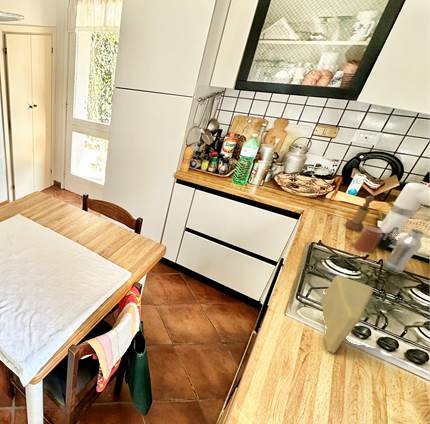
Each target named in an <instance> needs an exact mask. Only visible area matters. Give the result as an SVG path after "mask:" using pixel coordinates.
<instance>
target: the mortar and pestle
mask: <svg viewBox="0 0 430 424" xmlns="http://www.w3.org/2000/svg"><path fill="white" fill-rule="evenodd" d="M364 201H365V203H363V204H362V206H359V207H358V209H357V211H356V212H355V213H354V216H353V217H352V219H350V220H347V221H346V223H345V224H344V225H345V227H346V228H347V229H350V230H353V231H356V232H362V230H363V229H364V224H363V222H364V220H365V219H366V216H367V215H368V214H369V212H370V209H369V207H370V204H371V203H372V202H374V201H375V197H374V196H373V195H367V196H366V197H365V199H364Z"/></svg>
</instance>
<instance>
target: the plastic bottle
mask: <svg viewBox="0 0 430 424" xmlns="http://www.w3.org/2000/svg"><path fill="white" fill-rule="evenodd" d="M424 234H425V232H423V231H422V230H418V229H414V228H411V229H410V230H409V231H408V232H407V234H406V235H403V236H401V237H399V238H398V239H397V240H396V242H395V243H396V244H395V245H394V248H393V249H392V251H391V253H390V254H389V255H388V256H387V257H386V258H385V259H384V260H383V261H382V262H383V267H384V268H386V269H387V270H389V271H393V272H402V273H404V271H405V269H406V265H407V264H408V263H409V261H410V260H411V258H412V257H413V256H414V255H415V254H416V253H417V252H418V251H419V250H420V249H421V248H422V241H421V239H423V237H424Z"/></svg>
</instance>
